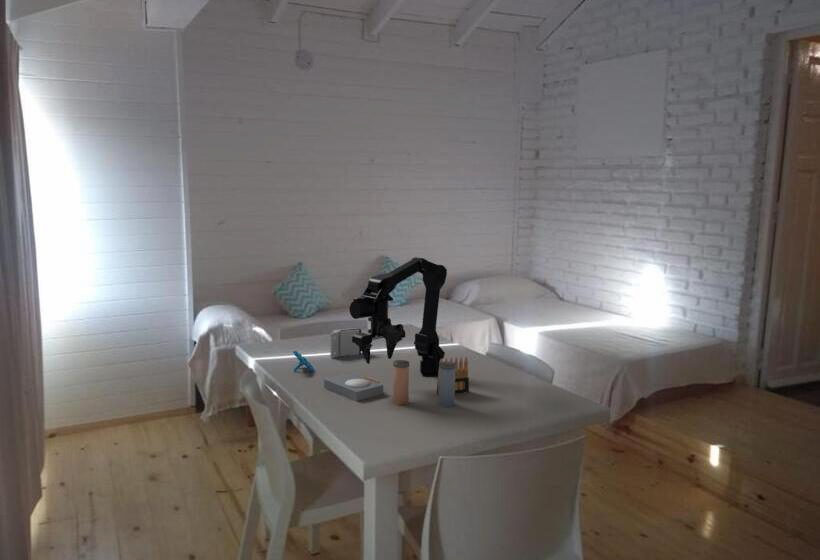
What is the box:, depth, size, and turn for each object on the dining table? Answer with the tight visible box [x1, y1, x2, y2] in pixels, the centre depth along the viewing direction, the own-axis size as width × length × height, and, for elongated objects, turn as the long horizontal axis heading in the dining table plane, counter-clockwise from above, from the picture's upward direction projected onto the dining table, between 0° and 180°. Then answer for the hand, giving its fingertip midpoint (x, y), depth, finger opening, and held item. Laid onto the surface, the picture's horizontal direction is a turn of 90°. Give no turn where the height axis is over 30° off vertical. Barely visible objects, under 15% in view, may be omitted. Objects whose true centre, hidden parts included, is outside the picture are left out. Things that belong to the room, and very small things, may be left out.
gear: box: [292, 350, 315, 372], centre depth 241 cm, size 11×6×10 cm
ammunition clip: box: [436, 356, 470, 396], centre depth 218 cm, size 11×2×12 cm, turn 110°
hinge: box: [329, 327, 362, 359], centre depth 263 cm, size 14×5×10 cm, turn 123°
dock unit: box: [323, 372, 384, 402], centre depth 219 cm, size 12×18×4 cm, turn 42°
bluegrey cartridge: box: [438, 361, 456, 408], centre depth 206 cm, size 5×5×13 cm
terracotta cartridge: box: [392, 359, 410, 406], centre depth 208 cm, size 5×5×13 cm
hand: (379, 361), depth 222 cm, fingers open, 9 cm apart
